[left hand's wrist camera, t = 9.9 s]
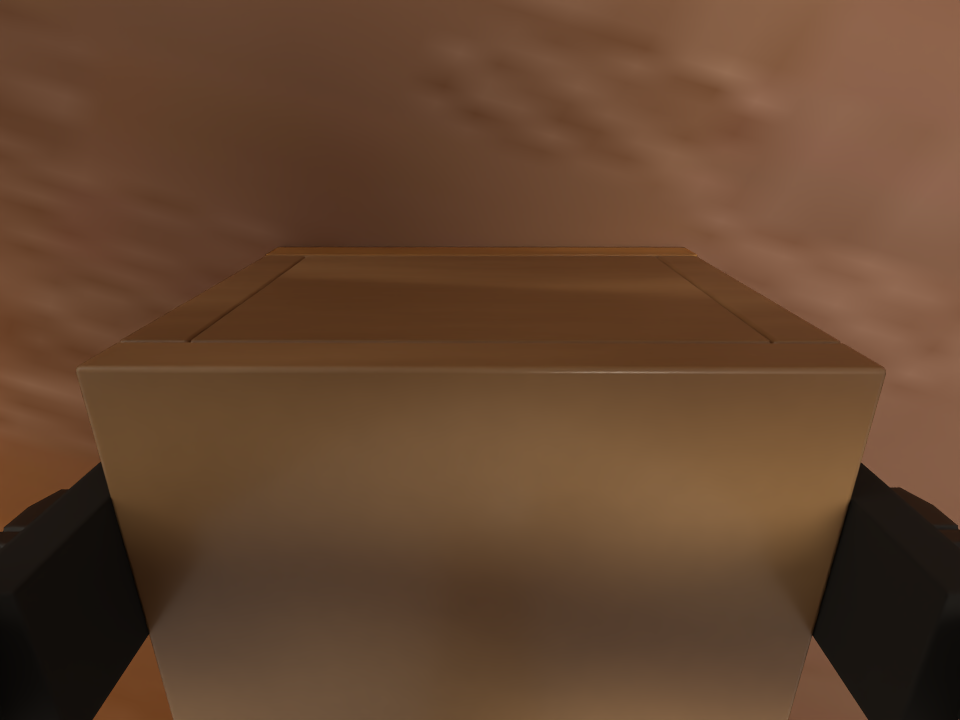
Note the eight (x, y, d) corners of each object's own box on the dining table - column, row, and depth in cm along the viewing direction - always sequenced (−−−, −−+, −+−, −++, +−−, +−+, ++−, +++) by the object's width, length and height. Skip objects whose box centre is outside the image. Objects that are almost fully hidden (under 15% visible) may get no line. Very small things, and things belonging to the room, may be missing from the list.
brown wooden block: (619, 750, 23) (690, 1074, 15) (342, 749, 23) (269, 1071, 15) (684, 247, 16) (891, 367, 8) (277, 247, 16) (69, 366, 8)
